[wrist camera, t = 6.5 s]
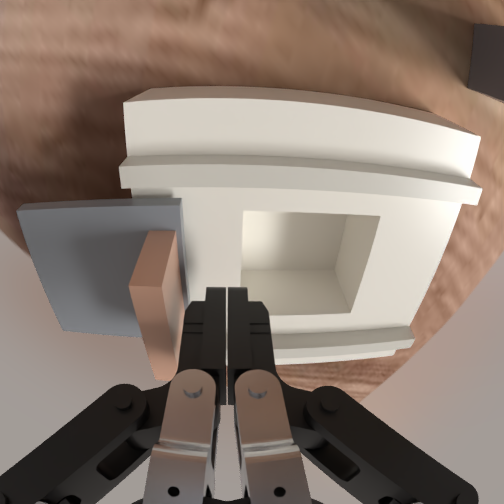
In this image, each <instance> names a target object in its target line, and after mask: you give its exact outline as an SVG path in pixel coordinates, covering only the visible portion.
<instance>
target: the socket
mask: <svg viewBox="0 0 504 504" xmlns="http://www.w3.org/2000/svg"><path fill="white" fill-rule="evenodd" d="M123 107H124V123H125V136H126V148H127V158H126V159H125V160H124V161H123V162H122V163H121V165H120V166H119V173H120V181H121V188H122V189H125V188H131V193H132V199H133V198H182V206H183V222H184V236H185V249H186V260H187V272H188V282H189V292H190V302H191V301H205V296H206V287H226V365H228V361H227V318H228V287H247V289H248V301H262V302H263V304H264V305H265V307H266V308H267V310H268V311H269V318H270V327H271V335H272V343H273V351H274V359H275V365H281V364H303V363H319V362H333V361H345V360H356V359H366V358H375V357H383V356H391V355H394V353H395V351H396V349H404V348H410V347H411V345H412V344H413V342H414V340H415V337H414V335H413V333H412V331H411V329H410V326H409V325H410V324H411V322H412V320H413V318H414V316H415V314H416V312H417V310H418V308H419V306H420V304H421V302H422V300H423V298H424V296H425V293H426V291H427V289H428V287H429V285H430V283H431V281H432V278H433V276H434V274H435V272H436V269H437V267H438V265H439V262H440V260H441V258H442V255H443V253H444V250H445V248H446V245H447V243H448V240H449V238H450V235H451V232H452V230H453V227H454V224H455V222H456V219H457V216H458V213H459V210H460V208H461V205H462V203H464V204H471V205H477V204H478V201H479V198H480V195H481V192H482V188H481V187H480V186H479V185H477V184H476V183H475V182H474V181H472V180H471V179H470V176H471V173H472V169H473V166H474V162H475V159H476V155H477V151H478V147H479V143H480V139H481V137H480V136H478V135H476V134H474V133H473V132H471V131H469V130H467V129H465V128H463V127H461V126H459V125H457V124H455V123H453V122H451V121H449V120H447V119H445V118H443V117H441V116H438V115H436V114H434V113H430V112H426V111H422V110H418V109H414V108H409V107H405V106H400V105H395V104H391V103H386V102H380V101H375V100H370V99H364V98H358V97H352V96H345V95H338V94H330V93H322V92H314V91H304V90H294V89H281V88H266V87H244V86H186V87H164V88H151V89H149V90H147V91H145V92H143V93H141V94H139V95H137V96H135V97H133V98H131V99H129V100H127V101H125V102H123Z"/></svg>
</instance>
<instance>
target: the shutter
mask: <svg viewBox="0 0 504 504" xmlns="http://www.w3.org/2000/svg"><path fill="white" fill-rule="evenodd" d="M16 212H17V216H18V219H19V222H20V225H21V229H22V232H23V235H24V238H25V241H26V244H27V246H28V249H29V252H30V255H31V258H32V260H33V263H34V266H35V268H36V271H37V273H38V275H39V278H40V281H41V283H42V285H43V288H44V290H45V293H46V295H47V297H48V299H49V302H50V304H51V306H52V308H53V311H54V313H55V315H56V317H57V319H58V321H59V323H60V325H61V327H62V329H63V330H64V331H72V332H82V333H91V334H102V335H116V336H128V337H142V338H143V341H144V344H145V347H146V351H147V354H148V357H149V360H150V363H151V366H152V369H153V372H154V375H155V378H156V380H166V381H171V380H172V379H173V378H174V376H175V374H176V372H177V369H178V361H179V353H180V344H181V336H182V329H183V321H184V314H185V310H186V309H187V307H188V306H189V304H190V303H191V302H190V292H189V282H188V272H187V260H186V249H185V236H184V222H183V206H182V198H133V199H100V200H77V201H58V202H42V203H27V204H22V205H21V206H20V207H19V208H18V209H17V210H16Z"/></svg>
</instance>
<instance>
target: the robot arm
mask: <svg viewBox="0 0 504 504" xmlns="http://www.w3.org/2000/svg"><path fill="white" fill-rule="evenodd" d="M227 361H228V405H234V428H235V436H236V444H237V453H238V461H239V468H240V480H241V489H242V497H243V498H241V499H237V500H233V501H222V500H218V499H214V490H215V465H216V453H217V442H218V430H219V423H220V405H226V287H206V296H205V301H191V303H190V304H189V306H188V307H187V309H186V310H185V314H184V321H183V329H182V336H181V344H180V353H179V361H178V369H177V372H176V374H175V376H174V378H173V379H172V380H171V381H170V382H168V383H167V384H165V385H163V386H161V387H158V388H154V389H150V390H145V391H141V390H140V389H139V388H137V387H136V386H134V385H130V384H119V385H116V386H114V387H112V388H110V389H109V390H108V391H107V392H106V393H104V394H103V395H102V396H100V397H99V398H98V399H97V400H95V401H94V402H93V403H92V404H91V405H89V406H88V407H87V408H86V409H84V410H83V411H82V412H81V413H79V414H78V415H77V416H76V417H74V418H73V419H72V420H71V421H70V422H68V423H67V424H66V425H64V426H63V427H62V428H61V429H59V430H58V431H57V432H56V433H55V434H53V435H52V436H51V437H49V438H48V439H47V440H46V441H44V442H43V443H42V444H41V445H39V446H38V447H37V448H36V449H34V450H33V451H32V452H31V453H29V454H28V455H27V456H25V457H24V458H23V459H22V460H20V461H19V462H18V463H16V464H15V465H14V466H13V467H11V468H10V469H9V470H7V471H6V472H5V473H4V474H2V475H1V476H0V504H96V503H97V502H98V501H99V500H100V499H102V498H103V497H104V496H105V495H106V494H107V493H109V492H110V491H111V490H112V489H113V488H114V487H116V486H117V485H118V484H119V483H120V482H121V481H122V480H124V479H125V478H126V477H127V476H128V475H129V474H130V473H131V472H133V471H134V470H135V469H136V468H137V467H138V466H139V465H140V464H141V463H142V462H143V461H145V460H146V459H147V458H148V457H149V456H150V455H151V457H150V463H149V468H148V474H147V480H146V486H145V492H144V497H143V499H140V500H138V501H136V502H134V503H132V504H323V503H321V502H319V501H317V500H314V499H311V497H310V492H309V488H308V483H307V479H306V475H305V470H304V466H303V461H302V457H301V453H302V454H303V455H304V456H305V457H307V458H308V459H309V460H310V461H311V462H312V463H313V464H314V465H316V466H317V467H318V468H319V469H320V470H322V471H323V472H324V473H325V474H326V475H328V476H329V477H330V478H331V479H333V480H334V481H335V482H336V483H337V484H339V485H340V486H341V487H342V488H344V489H345V490H346V491H347V492H349V493H350V494H351V495H353V496H354V497H355V498H356V499H358V500H359V501H360V502H362V503H363V504H478V501H479V500H478V494H477V491H476V489H475V488H474V487H473V486H472V485H471V484H469V483H468V482H466V481H465V480H463V479H462V478H460V477H459V476H457V475H456V474H455V473H453V472H451V471H450V470H449V469H447V468H446V467H444V466H443V465H441V464H440V463H439V462H437V461H436V460H435V459H433V458H432V457H430V456H429V455H427V454H426V453H425V452H423V451H422V450H421V449H419V448H418V447H416V446H415V445H413V444H412V443H411V442H410V441H408V440H407V439H405V438H404V437H403V436H401V435H400V434H399V433H397V432H396V431H395V430H393V429H392V428H391V427H389V426H388V425H387V424H385V423H384V422H383V421H381V420H380V419H379V418H377V417H376V416H375V415H374V414H372V413H371V412H369V411H368V410H367V409H366V408H364V407H363V406H362V405H361V404H359V403H358V402H357V401H355V400H354V399H353V398H352V397H350V396H349V395H348V394H346V393H345V392H344V391H342V390H341V389H339V388H337V387H333V386H322V387H319V388H317V389H315V390H314V391H312V392H310V391H306V390H301V389H297V388H294V387H291V386H289V385H287V384H286V383H284V382H283V381H282V380H281V379H280V378H279V376H278V374H277V372H276V368H275V359H274V351H273V343H272V335H271V327H270V318H269V311H268V310H267V308H266V307H265V305H264V304H263V302H262V301H248V289H247V287H228V318H227ZM300 452H301V453H300Z"/></svg>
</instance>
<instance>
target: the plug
mask: <svg viewBox="0 0 504 504" xmlns="http://www.w3.org/2000/svg"><path fill="white" fill-rule="evenodd" d="M467 88H468V89H471V90H474V91H476V92H479V93H481V94H484V95H486V96H488V97H491V98H493V99H495V100H498V101H500V102H502V103H504V26H497V25H487V24H474V37H473V48H472V57H471V65H470V73H469V80H468V86H467Z"/></svg>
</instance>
